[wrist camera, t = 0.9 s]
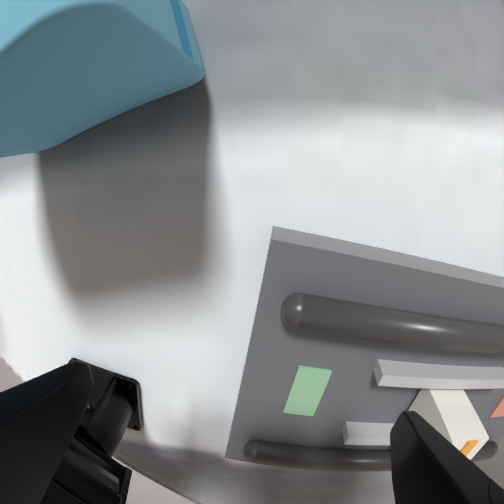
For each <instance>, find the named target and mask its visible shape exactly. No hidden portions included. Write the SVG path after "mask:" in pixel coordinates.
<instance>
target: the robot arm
mask: <svg viewBox="0 0 504 504" xmlns="http://www.w3.org/2000/svg"><path fill="white" fill-rule="evenodd" d="M127 427H128V428H130V429H133V430H137V431H140V430H141V428H142V419H141V409H140V397H139V384H138V382H137V381H136V380H134V379H132V378H129V377H126V376H123V375H120V374H117V373H114V372H111V371H108V370H105V369H102V368H100V367H97V366H94V365H91V364H89V363H86V362H83V361H81V360H78V359H76V358H71V360H70V361H69V363H68V364H66V365H63V366H61V367H59V368H56V369H54V370H52V371H50V372H47V373H45V374H43V375H40V376H38V377H36V378H33V379H31V380H29V381H26V382H24V383H22V384H19V385H17V386H15V387H12V388H10V389H8V390H5V391H3V392H0V504H126V499H127V493H128V488H129V483H130V479H131V474H132V470H130V469H129V468H127V467H124V466H123V465H121V464H120V463H118V462H117V461H115V460H114V459H113V458H111V457H112V455H113V453H114V452H115V450H116V448H117V446H118V444H119V442H120V440H121V438H122V436H123V434H124V432H125V430H126V428H127ZM390 448H391V469H392V482H393V490H394V496H395V504H504V489H502V488H501V487H500V486H499V485H498V484H496V483H495V482H494V481H493V480H492V479H491V478H489V476H487V475H486V474H485V473H484V472H483V471H482V470H481V469H480V468H478V467H477V466H476V465H475V464H474V463H473V462H472V461H471V460H469V459H468V458H467V457H466V456H465V455H464V454H463V453H462V452H461V451H459V450H458V449H457V448H456V447H455V446H454V445H453V444H452V443H450V442H449V441H448V440H447V439H446V438H445V437H444V436H443V435H442V434H440V433H439V432H438V431H437V430H436V429H435V428H434V427H433V426H432V425H430V424H429V423H428V422H427V421H426V420H425V419H424V418H423V417H422V416H420V415H419V414H418V413H417V412H416V411H403V412H401V413H400V415H399V417H398V418H397V420H396V422H395V424H394V425H393V427H392V429H391V431H390Z"/></svg>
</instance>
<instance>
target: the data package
mask: <svg viewBox="0 0 504 504" xmlns="http://www.w3.org/2000/svg"><path fill="white" fill-rule="evenodd" d="M204 75H205V71H204V67H203V63H202V60H201V56H200V52H199V49H198V45H197V41H196V37H195V34H194V30H193V26H192V23H191V19H190V15H189V12H188V9H187V7H186V6H185V4H184V3H183V2H182V1H181V0H0V158H1V157H7V156H14V155H20V154H27V153H34V152H39V151H43V150H46V149H49V148H52V147H54V146H57V145H59V144H61V143H63V142H65V141H66V140H68V139H70V138H72V137H74V136H76V135H78V134H80V133H82V132H84V131H86V130H88V129H90V128H92V127H94V126H96V125H98V124H100V123H102V122H104V121H106V120H109V119H111V118H113V117H115V116H117V115H120V114H122V113H124V112H126V111H129V110H131V109H134V108H136V107H138V106H141V105H143V104H146V103H148V102H151V101H153V100H156V99H158V98H161V97H164V96H166V95H169V94H172V93H174V92H177V91H180V90H183V89H186V88H188V87H190V86H192V85H194V84H196V83H198V82H199V81H201V80H202V79H203V77H204Z"/></svg>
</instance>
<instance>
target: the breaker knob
mask: <svg viewBox="0 0 504 504" xmlns="http://www.w3.org/2000/svg"><path fill="white" fill-rule="evenodd" d="M408 411H416V412H417V413H418V414H419V415H420V416H422V417H423V418H424V419H425V420H426V421H427V422H428V423H429V424H430V425H432V426H433V427H434V428H435V429H436V430H437V431H438V432H439V433H440V434H442V435H443V436H444V437H445V438H446V439H447V440H448V441H449V442H450V443H452V444H453V445H454V446H455V447H456V448H457V449H458V450H459V451H461V452H462V453H463V454H464V455H465V456H466V457H467V458H468V459H469V460H471V459H472V458H473V457H474V456H475V454H476V453H477V452H478V451H479V450H480V449H481V448H482V446H483V445H484V444H485V443H486V442H487V441H488V439H489V436H488V434H487V432H486V430H485V428H484V426H483V425H482V423H481V421H480V419H479V417H478V415H477V413H476V411H475V409H474V408H473V406H472V404H471V402H470V400H469V399H468V397H467V395H466V393H465V391H464V390H463V389H426V388H421V390H420V392H419V393H418V395H417V397H416V398H415V400H414V402H413V403H412V405H411V407H410V408H409V410H408Z"/></svg>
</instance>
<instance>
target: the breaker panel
mask: <svg viewBox="0 0 504 504" xmlns="http://www.w3.org/2000/svg"><path fill="white" fill-rule="evenodd" d="M421 388H426V389H463V390H464V391H465V393H466V395H467V397H468V399H469V400H470V402H471V404H472V406H473V408H474V409H475V411H476V413H477V415H478V417H479V419H480V421H481V423H482V425H483V426H484V428H485V430H486V432H487V434H488V436H489V439H488V441H487V442H486V443H485V444H484V445H483V446H482V448H481V449H480V450H479V451H478V452H477V453H476V454H475V456H474V457H473V458H472V459H471V461H472V462H473V461H479V460H484V459H489V458H491V457H493V456H494V455H495V454H496V452H497V450H498V445H497V443H498V441H499V440H500V439H501V438H502V436H503V435H504V278H503V277H499V276H495V275H491V274H487V273H483V272H479V271H475V270H471V269H467V268H463V267H459V266H455V265H450V264H446V263H442V262H438V261H433V260H429V259H425V258H420V257H416V256H412V255H407V254H403V253H398V252H394V251H389V250H385V249H380V248H376V247H371V246H367V245H362V244H357V243H353V242H348V241H343V240H338V239H334V238H329V237H324V236H319V235H314V234H309V233H304V232H299V231H294V230H289V229H284V228H279V227H274V226H273V229H272V234H271V239H270V244H269V249H268V254H267V259H266V264H265V269H264V274H263V279H262V284H261V289H260V294H259V299H258V304H257V309H256V314H255V319H254V323H253V328H252V333H251V338H250V343H249V347H248V352H247V357H246V362H245V366H244V371H243V376H242V380H241V385H240V390H239V394H238V399H237V404H236V408H235V413H234V417H233V422H232V426H231V431H230V435H229V440H228V445H227V450H226V455H225V458H229V459H234V460H240V461H246V462H252V463H258V464H265V465H272V466H280V467H289V468H299V469H311V470H327V471H392V469H391V448H390V431H391V429H392V427H393V425H394V424H395V422H396V420H397V418H398V417H399V415H400V413H401V412H403V411H408V410H409V408H410V407H411V405H412V403H413V402H414V400H415V398H416V397H417V395H418V393H419V392H420V390H421Z"/></svg>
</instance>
